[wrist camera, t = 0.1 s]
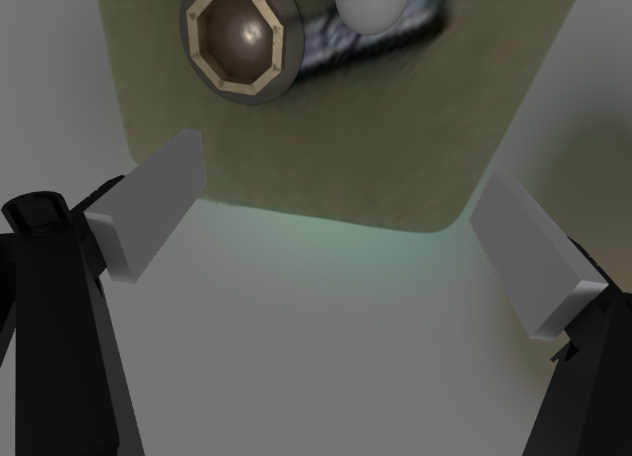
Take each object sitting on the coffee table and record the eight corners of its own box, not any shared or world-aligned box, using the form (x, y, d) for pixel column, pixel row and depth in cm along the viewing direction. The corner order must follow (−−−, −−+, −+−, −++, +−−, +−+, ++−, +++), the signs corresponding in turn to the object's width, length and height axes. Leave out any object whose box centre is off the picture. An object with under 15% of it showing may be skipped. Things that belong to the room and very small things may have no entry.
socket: (175, -52, 32) (158, -56, 29) (312, -30, 32) (308, -32, 29) (190, 93, 40) (178, 100, 38) (298, 110, 40) (294, 119, 38)
